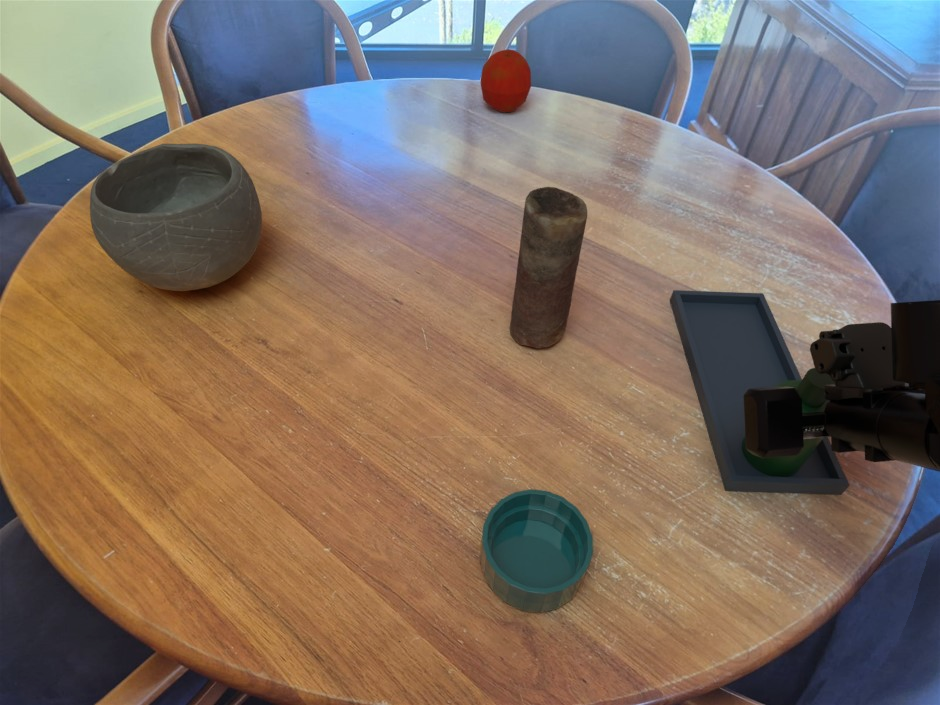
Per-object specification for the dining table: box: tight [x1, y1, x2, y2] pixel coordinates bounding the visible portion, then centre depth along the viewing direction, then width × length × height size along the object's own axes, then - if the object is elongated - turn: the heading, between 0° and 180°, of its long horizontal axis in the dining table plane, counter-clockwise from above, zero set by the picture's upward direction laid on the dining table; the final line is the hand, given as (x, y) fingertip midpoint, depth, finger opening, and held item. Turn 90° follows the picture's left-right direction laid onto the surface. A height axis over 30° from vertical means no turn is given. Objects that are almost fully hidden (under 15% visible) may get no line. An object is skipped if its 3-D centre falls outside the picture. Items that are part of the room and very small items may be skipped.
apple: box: [480, 48, 532, 113], centre depth 123 cm, size 10×10×12 cm
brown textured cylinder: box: [509, 186, 588, 349], centre depth 76 cm, size 8×7×20 cm
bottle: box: [742, 367, 835, 477], centre depth 65 cm, size 6×6×13 cm
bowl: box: [89, 143, 263, 292], centre depth 84 cm, size 21×21×15 cm
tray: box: [669, 289, 851, 496], centre depth 77 cm, size 31×13×2 cm, turn 179°
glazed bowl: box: [479, 488, 594, 613], centre depth 59 cm, size 10×10×5 cm
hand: (790, 405), depth 66 cm, fingers open, 9 cm apart
